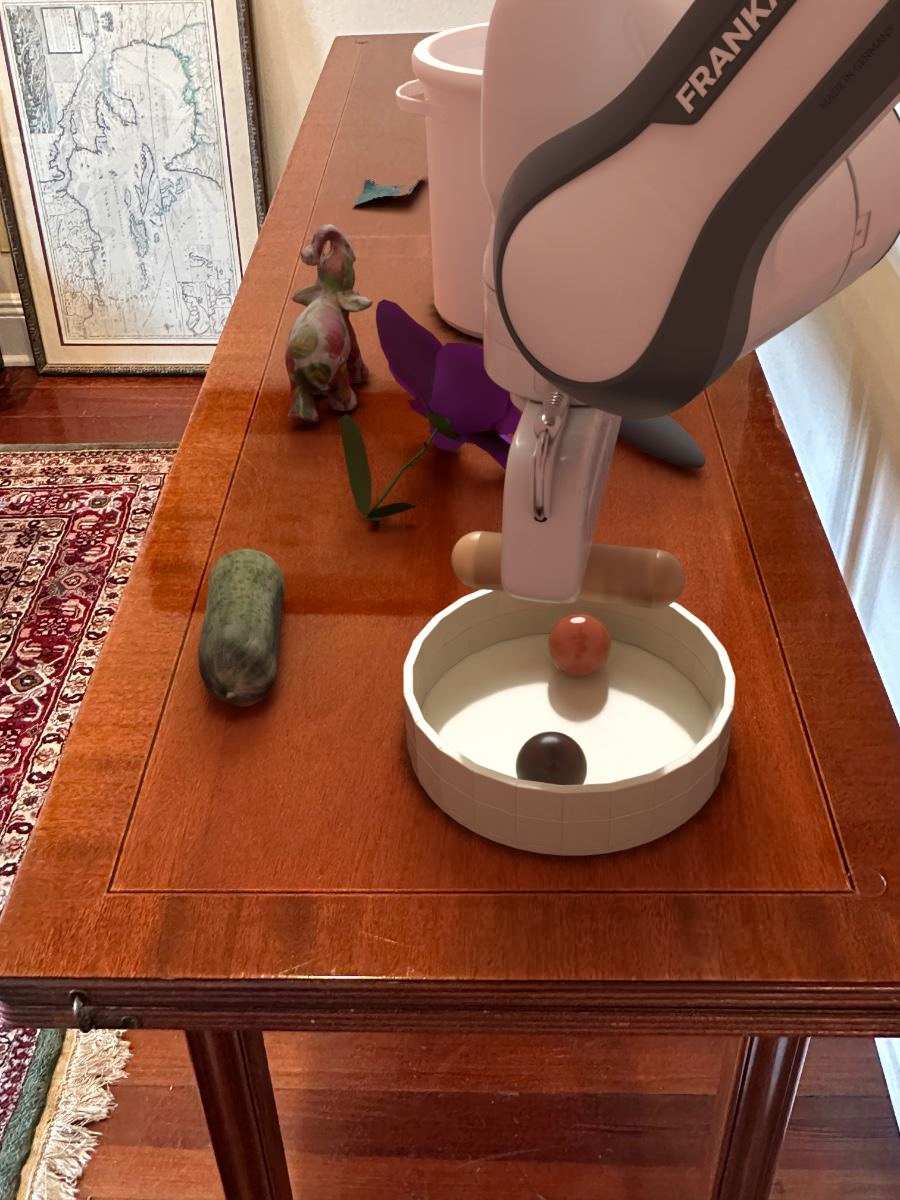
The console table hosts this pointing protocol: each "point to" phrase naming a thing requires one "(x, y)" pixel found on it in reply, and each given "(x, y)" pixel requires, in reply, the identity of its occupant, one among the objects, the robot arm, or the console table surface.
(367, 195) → the terrain model
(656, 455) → the paintbrush
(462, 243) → the pot
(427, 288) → the console table surface
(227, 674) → the vegetable
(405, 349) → the flower
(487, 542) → the stick
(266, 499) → the console table surface
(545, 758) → the bead walnut
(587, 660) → the bead terracotta
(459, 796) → the bowl
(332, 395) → the figurine
